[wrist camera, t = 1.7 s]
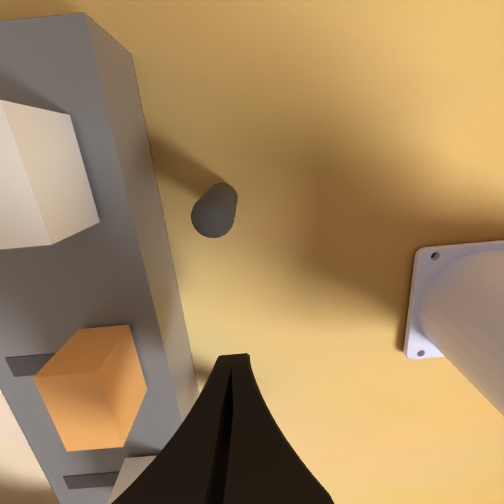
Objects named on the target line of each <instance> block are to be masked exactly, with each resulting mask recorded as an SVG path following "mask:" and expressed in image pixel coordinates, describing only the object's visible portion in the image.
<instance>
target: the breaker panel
mask: <svg viewBox="0 0 504 504" xmlns="http://www.w3.org/2000/svg"><path fill="white" fill-rule="evenodd" d="M0 100H4V101H8V102H13V103H17V104H22V105H26V106H31V107H35V108H40V109H45V110H49V111H54V112H58V113H63V114H67V115H70V118H71V121H72V125H73V128H74V132H75V135H76V139H77V142H78V146H79V149H80V153H81V156H82V160H83V164H84V167H85V171H86V174H87V178H88V181H89V185H90V188H91V192H92V195H93V199H94V202H95V206H96V210H97V213H98V217H99V220H100V222H99V223H97V224H95V225H93V226H91V227H89V228H86V229H84V230H82V231H80V232H78V233H76V234H74V235H72V236H69V237H67V238H65V239H63V240H61V241H59V242H57V243H55V244H52V245H44V246H33V247H22V248H11V249H0V389H1V391H2V393H3V395H4V397H5V399H6V401H7V403H8V405H9V407H10V408H11V410H12V412H13V414H14V416H15V418H16V420H17V422H18V424H19V426H20V428H21V430H22V432H23V434H24V435H25V437H26V439H27V441H28V443H29V445H30V447H31V449H32V451H33V453H34V455H35V457H36V459H37V461H38V462H39V464H40V466H41V468H42V470H43V472H44V474H45V476H46V478H47V480H48V482H49V484H50V486H51V488H52V489H53V491H54V493H55V495H56V497H57V499H58V501H59V503H60V504H107V503H108V500H109V498H110V495H111V493H112V490H113V488H114V485H115V483H116V480H117V478H118V475H119V472H120V470H121V467H122V465H123V462H124V460H125V458H133V457H145V456H157V455H158V454H159V453H160V451H161V450H162V449H163V448H164V446H165V445H166V444H167V443H168V441H169V440H170V439H171V437H172V436H173V435H174V433H175V432H176V431H177V429H178V428H179V427H180V425H181V424H182V422H183V421H184V419H185V418H186V416H187V415H188V413H189V412H190V410H191V408H192V407H193V405H194V404H195V402H196V400H197V399H198V397H199V390H198V385H197V380H196V375H195V370H194V365H193V360H192V355H191V350H190V345H189V340H188V335H187V330H186V325H185V320H184V315H183V310H182V305H181V300H180V295H179V290H178V285H177V280H176V275H175V270H174V265H173V260H172V255H171V250H170V245H169V240H168V235H167V230H166V225H165V220H164V215H163V210H162V205H161V200H160V195H159V190H158V185H157V180H156V176H155V171H154V166H153V161H152V156H151V151H150V146H149V141H148V136H147V131H146V126H145V121H144V116H143V111H142V106H141V101H140V96H139V91H138V86H137V81H136V76H135V71H134V66H133V61H132V56H131V53H130V52H128V51H127V50H126V49H125V48H124V47H123V46H122V45H120V44H119V43H118V42H117V41H116V40H115V39H114V38H112V37H111V36H110V35H109V34H108V33H107V32H106V31H104V30H103V29H102V28H101V27H100V26H99V25H98V24H96V23H95V22H94V21H93V20H92V19H91V18H90V17H88V16H87V15H86V14H85V13H75V14H65V15H54V16H44V17H34V18H24V19H14V20H4V21H0ZM119 325H129V326H130V330H131V333H132V337H133V341H134V344H135V348H136V351H137V355H138V358H139V362H140V365H141V369H142V372H143V376H144V379H145V383H146V387H147V391H146V394H145V396H144V398H143V401H142V403H141V406H140V408H139V410H138V413H137V415H136V417H135V420H134V422H133V425H132V427H131V429H130V432H129V434H128V437H127V439H126V441H125V444H124V446H123V447H116V448H104V449H92V450H80V451H69V452H67V451H66V449H65V447H64V444H63V442H62V440H61V438H60V436H59V433H58V431H57V429H56V427H55V425H54V423H53V420H52V418H51V416H50V414H49V412H48V409H47V407H46V405H45V403H44V401H43V398H42V396H41V394H40V392H39V390H38V388H37V385H36V383H35V381H34V379H33V377H34V376H35V375H36V374H37V373H38V372H39V371H40V370H41V368H42V367H43V366H44V365H45V364H46V363H47V362H48V361H49V360H50V359H51V358H52V357H53V356H54V355H55V354H56V353H57V352H58V351H59V350H60V348H61V347H62V346H63V345H64V344H65V343H66V342H67V341H68V340H69V339H70V338H71V337H72V336H73V335H74V334H75V333H76V332H77V331H78V330H79V329H85V328H97V327H108V326H119Z"/></svg>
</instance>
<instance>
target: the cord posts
mask: <svg viewBox="0 0 504 504" xmlns="http://www.w3.org/2000/svg"><path fill="white" fill-rule="evenodd" d="M236 205H237V194H236V192H235V190H234V189H233V188H232V187H231V186H230V185H228V184H225V183H219V184H216V185H214V186H212V187H211V188H210V189H209V190H208V191H207V192H206V193H205V194H204V195H203V196H202V197H201V198H200V199H199V200H198V201H197V202H196V203H195V205H194V207H193V209H192V213H191V220H192V224H193V226H194V228H195V229H196V230H197V231H198V232H199V233H200V234H201V235H203V236H205V237H209V238H217V237H221V236H223V235H225V234H226V233H227V232H228V231H229V230H230V229H231V227H232V225H233V222H234V217H235V211H236Z"/></svg>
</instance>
